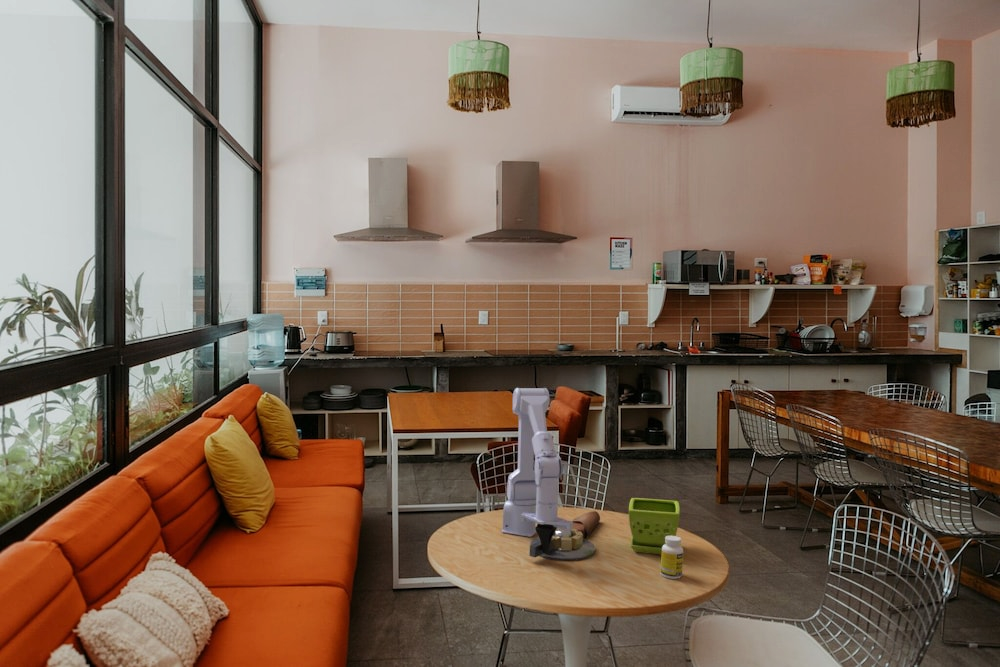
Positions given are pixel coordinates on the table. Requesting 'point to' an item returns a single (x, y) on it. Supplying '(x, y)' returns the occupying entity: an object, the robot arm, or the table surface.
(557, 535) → the grey round disc
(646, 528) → the flower pot
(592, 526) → the sunglasses case
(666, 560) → the supplement bottle
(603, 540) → the table surface
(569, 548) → the gear with bar handle
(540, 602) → the table surface
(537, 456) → the robot arm
